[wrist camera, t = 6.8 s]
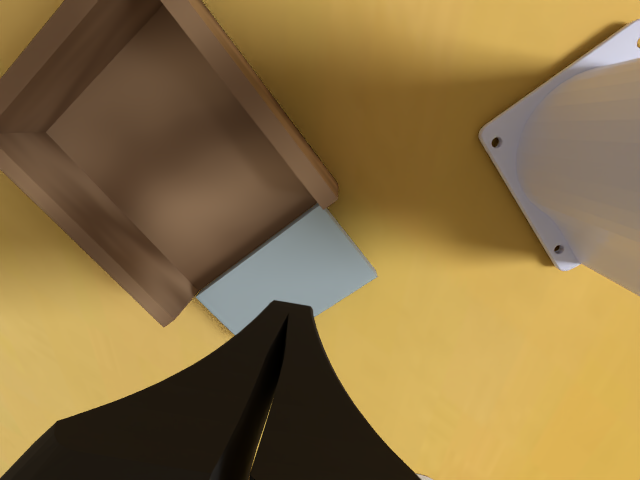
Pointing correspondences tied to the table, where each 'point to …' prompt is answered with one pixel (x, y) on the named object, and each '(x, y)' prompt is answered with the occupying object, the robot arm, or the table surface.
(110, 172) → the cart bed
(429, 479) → the wineglass
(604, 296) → the table surface
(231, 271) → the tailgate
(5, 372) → the table surface
